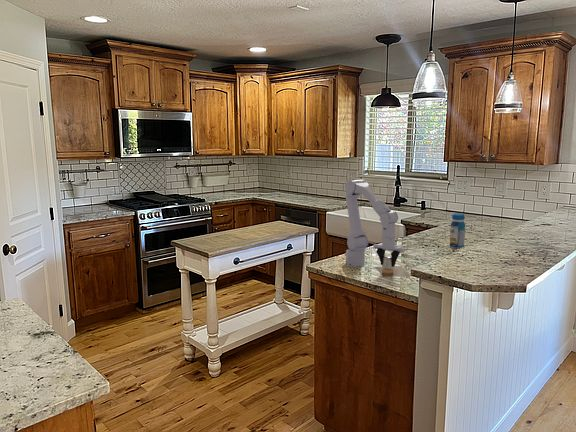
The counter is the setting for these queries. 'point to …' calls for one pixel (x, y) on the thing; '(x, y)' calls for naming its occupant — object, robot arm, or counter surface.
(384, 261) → the cap
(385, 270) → the jar
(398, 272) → the board
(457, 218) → the beverage bottle
